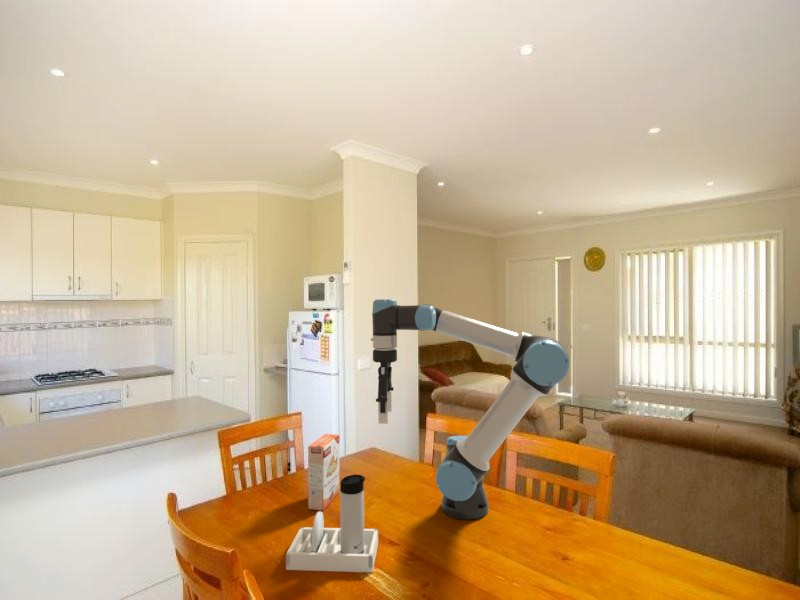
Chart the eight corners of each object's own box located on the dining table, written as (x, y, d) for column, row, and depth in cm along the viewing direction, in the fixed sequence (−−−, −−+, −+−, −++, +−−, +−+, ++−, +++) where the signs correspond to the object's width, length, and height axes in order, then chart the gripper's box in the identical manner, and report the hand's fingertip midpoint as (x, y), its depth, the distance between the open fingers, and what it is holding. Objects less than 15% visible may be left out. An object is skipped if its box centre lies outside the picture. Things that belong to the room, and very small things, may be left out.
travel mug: (361, 560, 112) (361, 482, 112) (337, 557, 113) (336, 480, 113) (368, 546, 118) (367, 473, 118) (345, 544, 119) (344, 471, 119)
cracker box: (324, 512, 140) (323, 447, 140) (307, 510, 141) (306, 445, 141) (340, 493, 154) (340, 433, 154) (324, 491, 155) (324, 432, 155)
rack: (378, 543, 122) (377, 503, 122) (372, 572, 109) (372, 527, 109) (301, 541, 123) (300, 501, 123) (286, 569, 110) (285, 525, 110)
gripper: (377, 344, 148) (377, 406, 148) (367, 353, 123) (368, 428, 123) (399, 344, 147) (399, 407, 147) (393, 353, 122) (394, 429, 122)
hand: (385, 417), depth 135 cm, fingers open, 13 cm apart
